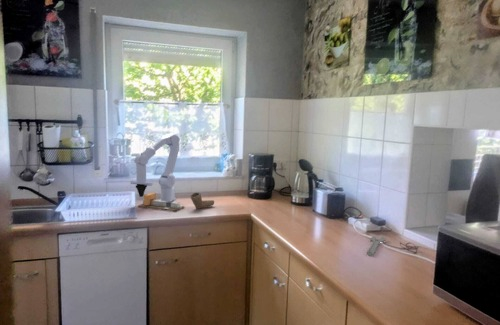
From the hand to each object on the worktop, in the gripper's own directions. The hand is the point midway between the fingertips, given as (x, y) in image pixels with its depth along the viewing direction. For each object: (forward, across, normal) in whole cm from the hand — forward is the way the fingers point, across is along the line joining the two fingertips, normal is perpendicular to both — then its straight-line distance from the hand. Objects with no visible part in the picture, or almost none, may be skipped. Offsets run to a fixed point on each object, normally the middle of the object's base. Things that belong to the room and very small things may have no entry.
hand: (141, 196), depth 214 cm
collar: (+4, +6, 0) cm, 7 cm away
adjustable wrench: (+6, +136, -19) cm, 137 cm away
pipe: (+6, +37, +10) cm, 39 cm away
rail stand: (+5, +14, 0) cm, 15 cm away
